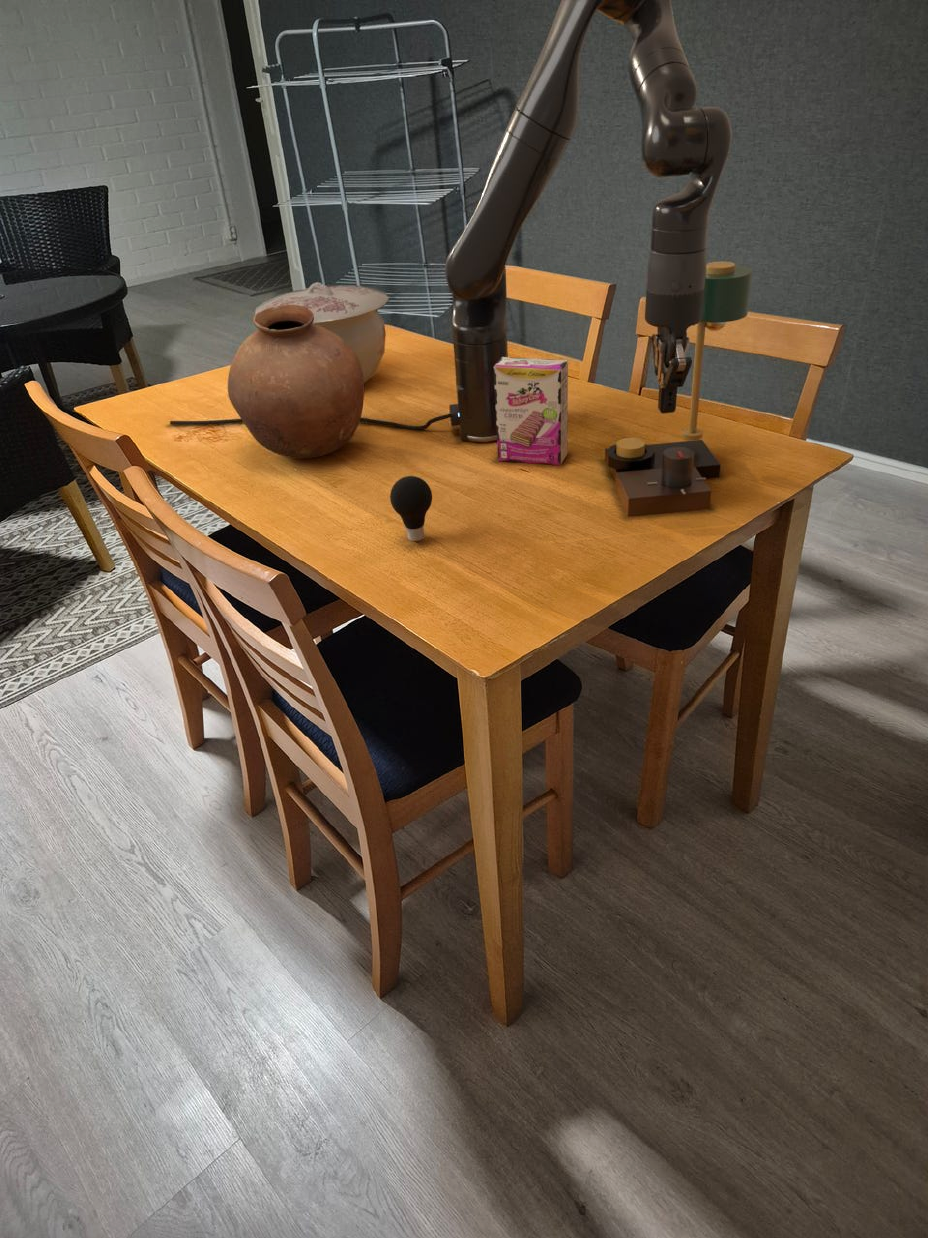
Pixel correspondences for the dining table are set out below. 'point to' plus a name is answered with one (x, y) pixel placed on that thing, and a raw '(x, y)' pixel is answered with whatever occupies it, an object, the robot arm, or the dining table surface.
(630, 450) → the button
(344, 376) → the pottery
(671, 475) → the dimmer knob
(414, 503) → the light bulb
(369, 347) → the chamber pot
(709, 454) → the lamp base
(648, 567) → the dining table surface
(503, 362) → the candy bar box
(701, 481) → the dimmer panel
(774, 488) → the dining table surface
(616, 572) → the dining table surface
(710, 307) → the desk lamp
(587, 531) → the dining table surface
